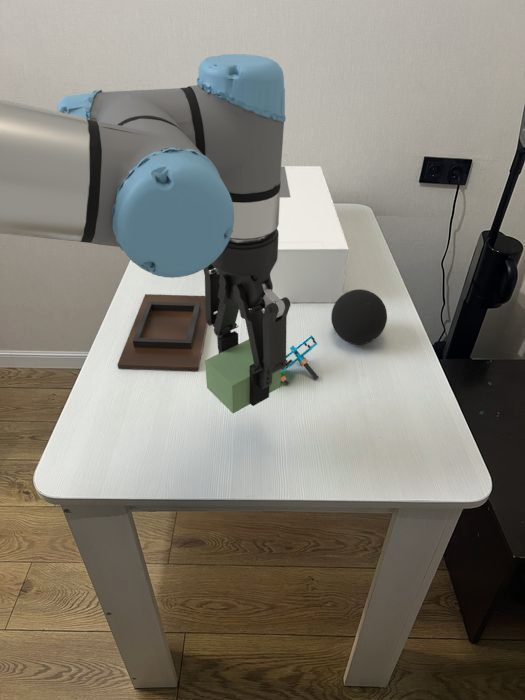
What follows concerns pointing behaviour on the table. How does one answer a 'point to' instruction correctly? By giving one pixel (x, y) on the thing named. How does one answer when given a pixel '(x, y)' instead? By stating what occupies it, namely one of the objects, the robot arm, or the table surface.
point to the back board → (166, 334)
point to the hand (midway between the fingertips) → (243, 385)
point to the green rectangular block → (234, 376)
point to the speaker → (359, 316)
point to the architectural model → (308, 239)
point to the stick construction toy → (299, 359)
